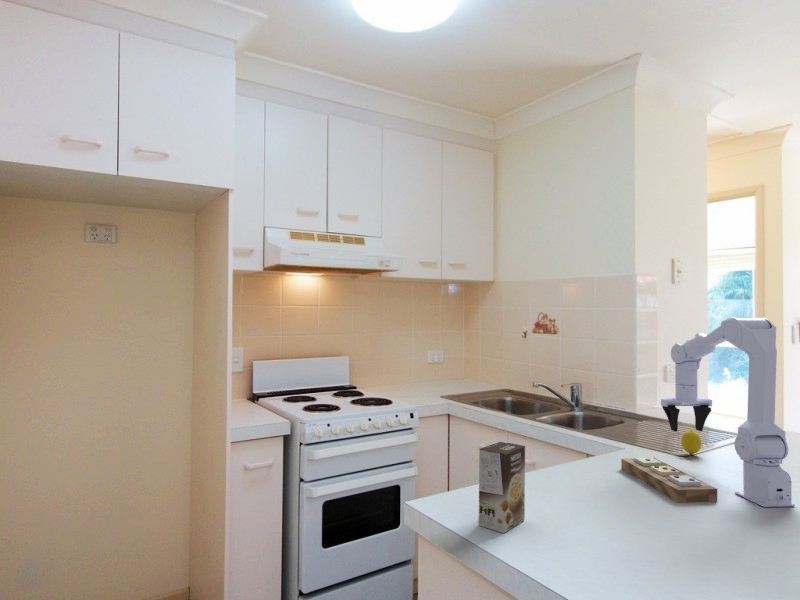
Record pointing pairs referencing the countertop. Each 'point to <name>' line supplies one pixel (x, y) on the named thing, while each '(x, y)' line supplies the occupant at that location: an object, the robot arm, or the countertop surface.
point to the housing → (670, 483)
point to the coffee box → (501, 486)
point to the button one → (647, 462)
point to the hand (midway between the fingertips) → (686, 430)
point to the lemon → (691, 442)
